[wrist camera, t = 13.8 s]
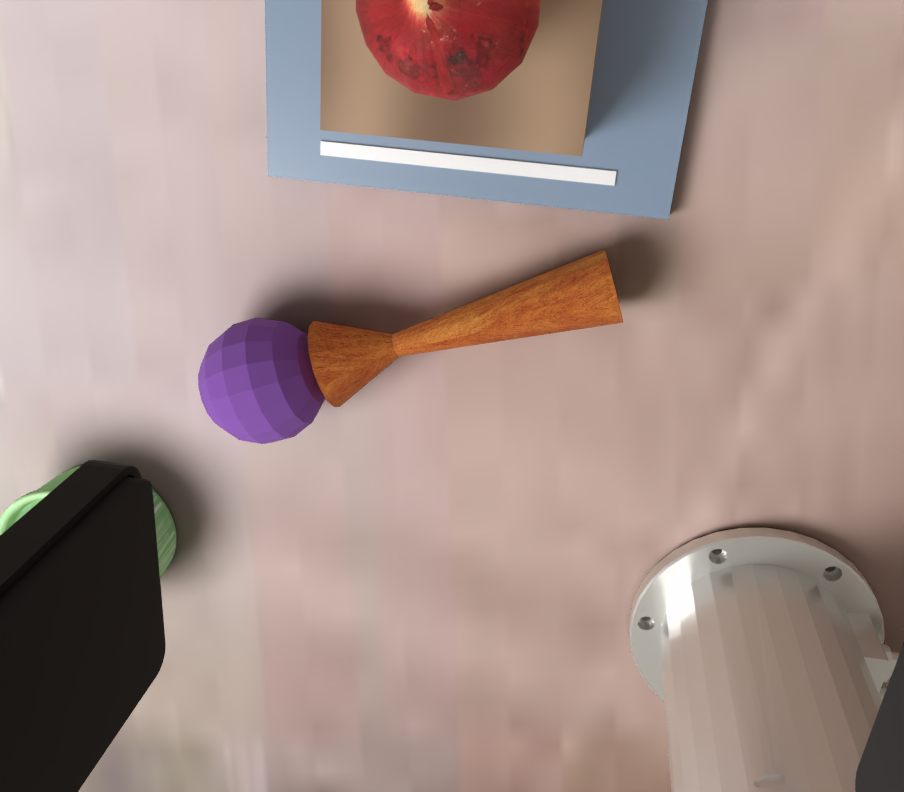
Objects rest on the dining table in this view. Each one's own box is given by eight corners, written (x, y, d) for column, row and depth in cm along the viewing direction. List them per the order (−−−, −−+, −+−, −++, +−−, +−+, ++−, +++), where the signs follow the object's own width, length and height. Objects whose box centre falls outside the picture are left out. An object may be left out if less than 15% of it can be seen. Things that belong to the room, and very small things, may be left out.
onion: (566, 62, 31) (553, 77, 23) (415, 109, 32) (359, 138, 25) (523, -118, 29) (494, -161, 21) (364, -58, 30) (287, -80, 23)
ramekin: (26, 448, 49) (-25, 486, 45) (175, 458, 48) (136, 498, 44) (58, 579, 53) (13, 625, 49) (197, 592, 51) (163, 640, 47)
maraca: (637, 376, 37) (219, 480, 41) (619, 312, 42) (248, 410, 46) (607, 253, 34) (159, 378, 38) (591, 200, 39) (197, 315, 43)
